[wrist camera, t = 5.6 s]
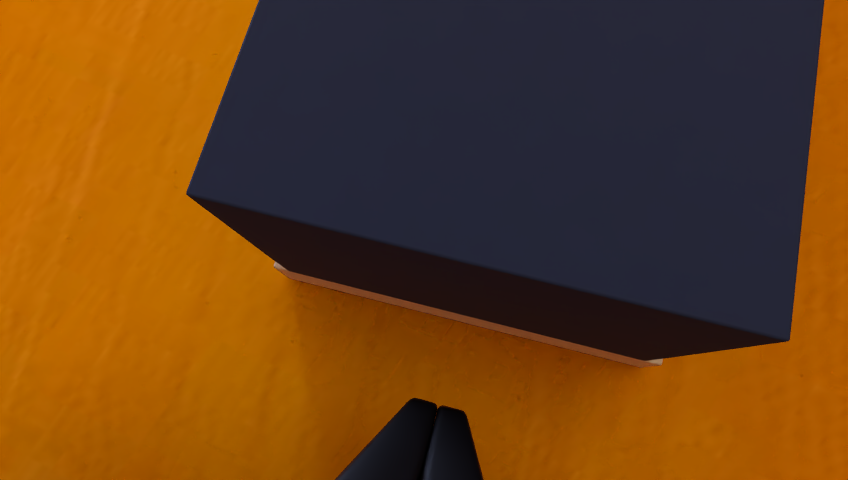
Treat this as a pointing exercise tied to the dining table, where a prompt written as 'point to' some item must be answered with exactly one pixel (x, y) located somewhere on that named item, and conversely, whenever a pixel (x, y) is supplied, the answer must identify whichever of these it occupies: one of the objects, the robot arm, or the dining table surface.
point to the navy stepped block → (530, 162)
